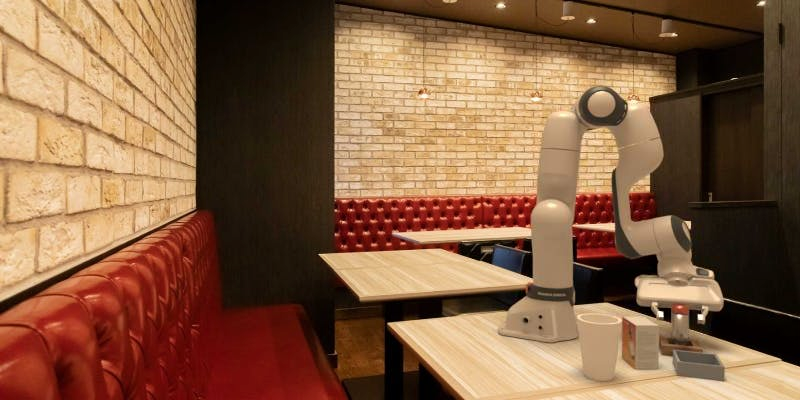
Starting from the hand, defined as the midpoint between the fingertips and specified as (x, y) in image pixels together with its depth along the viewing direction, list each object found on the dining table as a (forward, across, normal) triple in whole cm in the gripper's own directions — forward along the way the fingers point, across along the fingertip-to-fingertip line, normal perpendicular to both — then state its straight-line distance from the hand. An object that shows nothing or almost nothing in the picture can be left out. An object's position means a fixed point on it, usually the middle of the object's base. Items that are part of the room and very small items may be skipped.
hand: (680, 321), depth 133 cm
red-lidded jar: (+6, 0, +6) cm, 8 cm away
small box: (+15, -10, -4) cm, 19 cm away
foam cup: (+24, -19, -12) cm, 33 cm away
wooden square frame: (+6, 0, +5) cm, 8 cm away
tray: (+16, +2, -4) cm, 16 cm away
